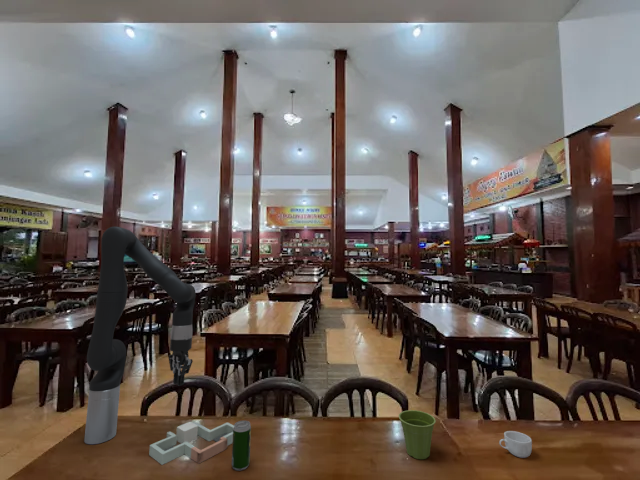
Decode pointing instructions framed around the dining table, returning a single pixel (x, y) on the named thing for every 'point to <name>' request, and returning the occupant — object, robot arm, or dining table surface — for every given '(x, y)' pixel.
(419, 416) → the plant pot
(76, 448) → the dining table surface
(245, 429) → the beer can
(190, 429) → the cream block
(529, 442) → the teacup
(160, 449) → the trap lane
